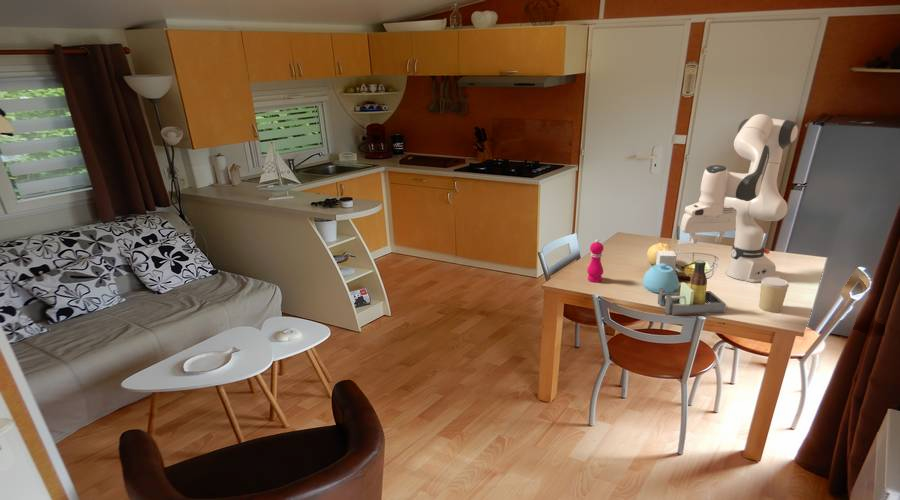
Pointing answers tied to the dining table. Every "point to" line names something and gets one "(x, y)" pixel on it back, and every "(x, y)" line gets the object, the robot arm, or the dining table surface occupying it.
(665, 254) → the supplement box
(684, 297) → the pusher
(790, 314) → the dining table surface
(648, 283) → the blue upside-down bowl
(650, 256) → the sculpture
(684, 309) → the gray storage tray
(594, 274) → the pepper mill
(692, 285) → the sauce bottle
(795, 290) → the dining table surface
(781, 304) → the coffee cup
